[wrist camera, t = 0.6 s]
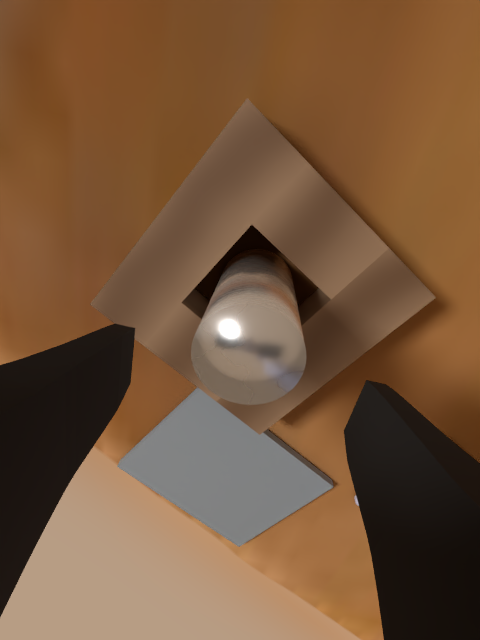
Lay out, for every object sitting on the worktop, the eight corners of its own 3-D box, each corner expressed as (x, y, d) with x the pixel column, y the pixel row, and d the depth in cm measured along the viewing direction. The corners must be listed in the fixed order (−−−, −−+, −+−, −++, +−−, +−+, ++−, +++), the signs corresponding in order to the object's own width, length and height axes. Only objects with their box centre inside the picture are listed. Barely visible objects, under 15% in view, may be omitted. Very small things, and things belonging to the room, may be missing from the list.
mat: (332, 479, 25) (333, 487, 24) (239, 539, 28) (238, 546, 28) (204, 380, 22) (203, 386, 22) (120, 460, 26) (117, 466, 25)
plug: (308, 283, 19) (331, 357, 12) (258, 330, 20) (251, 422, 13) (254, 233, 18) (243, 279, 11) (206, 286, 19) (168, 358, 12)
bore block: (415, 281, 18) (436, 297, 16) (260, 407, 23) (259, 435, 20) (250, 107, 16) (247, 98, 13) (110, 288, 20) (90, 304, 18)
